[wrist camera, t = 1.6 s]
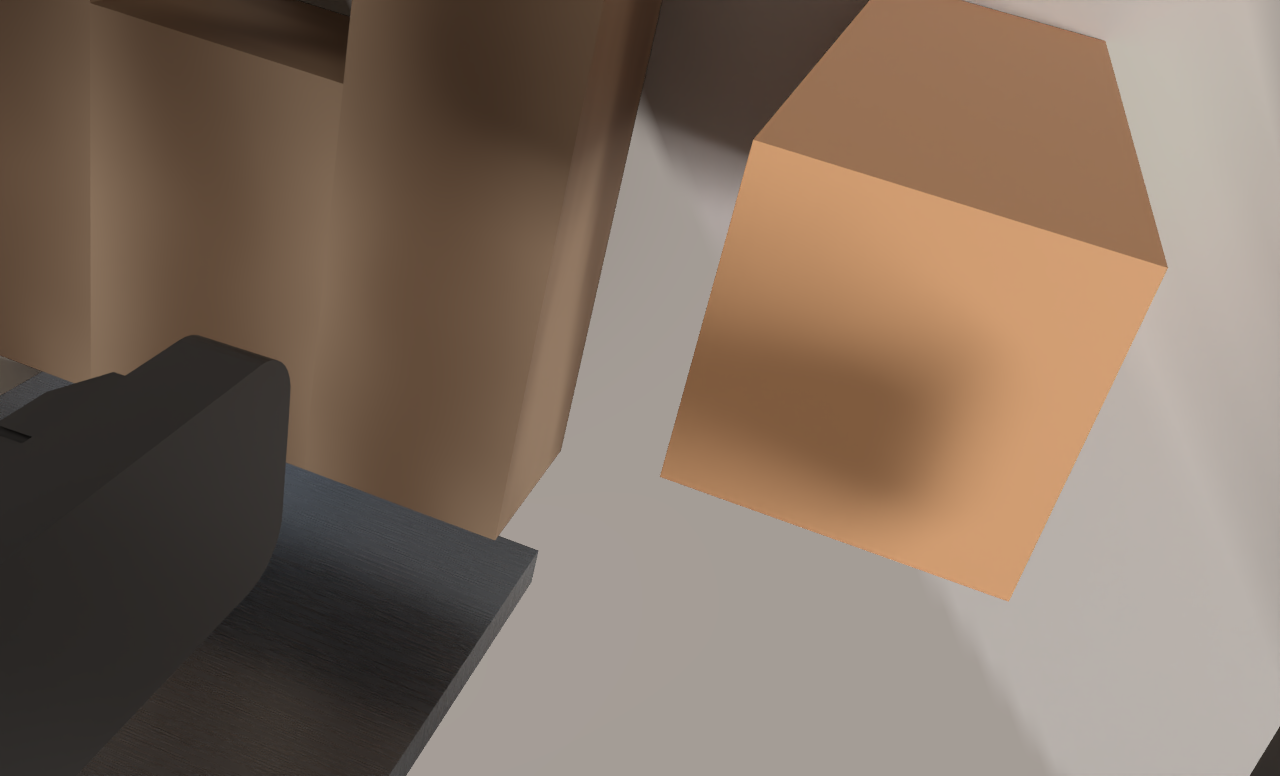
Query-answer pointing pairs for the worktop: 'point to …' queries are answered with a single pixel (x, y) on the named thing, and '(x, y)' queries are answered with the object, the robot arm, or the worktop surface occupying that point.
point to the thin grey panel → (326, 642)
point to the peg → (924, 291)
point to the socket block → (328, 214)
